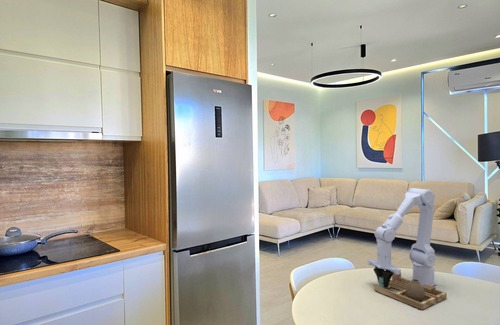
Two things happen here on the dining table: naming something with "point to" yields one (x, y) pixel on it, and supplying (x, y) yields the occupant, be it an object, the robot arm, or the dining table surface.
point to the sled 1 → (403, 294)
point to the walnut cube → (429, 289)
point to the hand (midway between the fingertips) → (383, 285)
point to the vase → (415, 291)
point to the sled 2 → (440, 294)
